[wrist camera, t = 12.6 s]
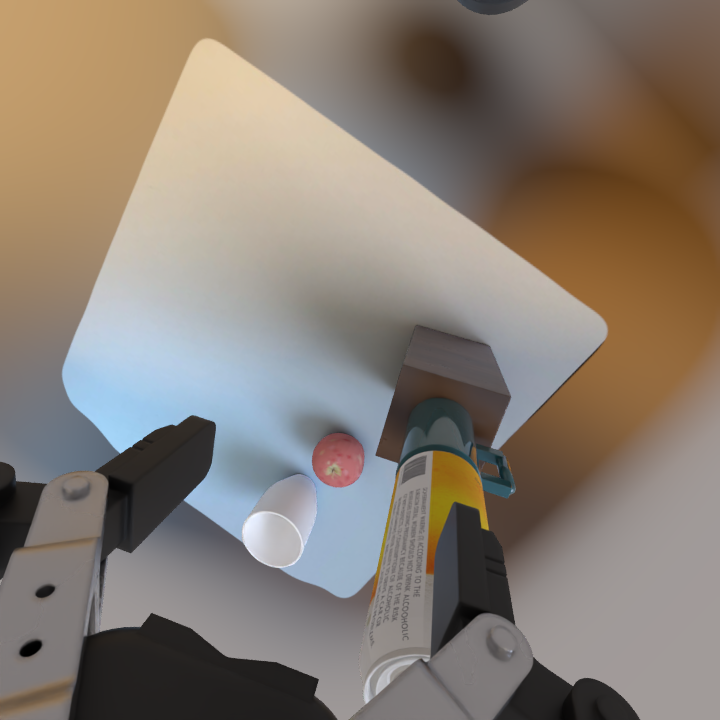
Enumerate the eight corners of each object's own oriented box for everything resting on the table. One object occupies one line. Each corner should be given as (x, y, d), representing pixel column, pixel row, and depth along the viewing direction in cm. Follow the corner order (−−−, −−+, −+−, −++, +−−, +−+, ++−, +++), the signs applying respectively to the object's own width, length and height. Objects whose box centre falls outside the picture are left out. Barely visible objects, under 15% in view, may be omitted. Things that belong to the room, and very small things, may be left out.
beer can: (432, 531, 31) (421, 781, 16) (379, 473, 30) (321, 681, 16) (499, 491, 28) (552, 738, 14) (444, 429, 28) (442, 621, 14)
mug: (307, 455, 63) (277, 502, 52) (338, 499, 64) (315, 555, 53) (252, 483, 67) (213, 533, 55) (282, 524, 68) (250, 581, 57)
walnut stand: (416, 324, 54) (402, 364, 37) (490, 346, 52) (511, 397, 36) (396, 391, 57) (375, 455, 40) (465, 412, 56) (474, 488, 39)
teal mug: (417, 388, 37) (408, 433, 29) (516, 419, 36) (537, 475, 28) (398, 445, 39) (385, 502, 31) (492, 476, 38) (505, 544, 30)
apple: (326, 417, 60) (309, 443, 53) (373, 431, 59) (363, 459, 52) (317, 459, 63) (300, 489, 55) (362, 473, 62) (351, 505, 54)
